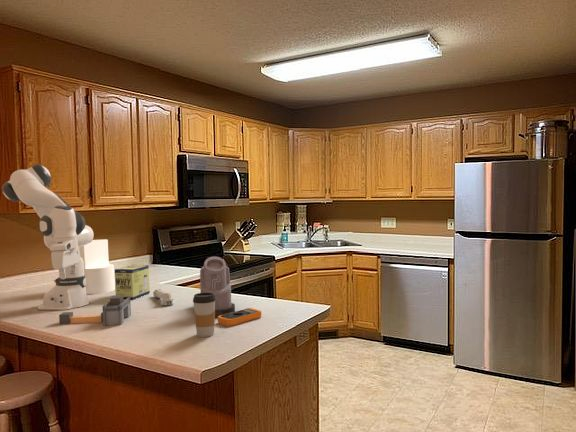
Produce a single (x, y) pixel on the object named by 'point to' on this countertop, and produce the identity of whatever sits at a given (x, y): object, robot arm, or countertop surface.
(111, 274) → the cylinder
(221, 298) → the juicer
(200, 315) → the coffee cup
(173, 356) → the countertop surface
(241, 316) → the multimeter
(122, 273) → the protein box
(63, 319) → the wooden and grey bar
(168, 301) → the toothbrush head
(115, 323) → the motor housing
